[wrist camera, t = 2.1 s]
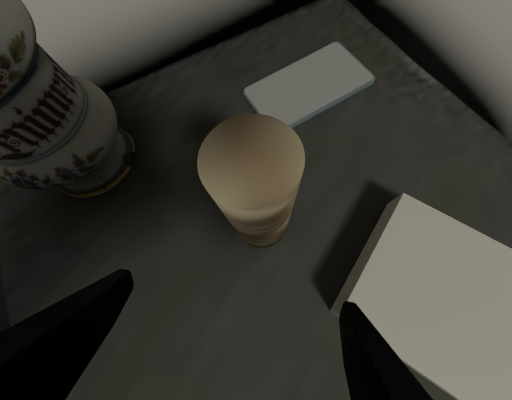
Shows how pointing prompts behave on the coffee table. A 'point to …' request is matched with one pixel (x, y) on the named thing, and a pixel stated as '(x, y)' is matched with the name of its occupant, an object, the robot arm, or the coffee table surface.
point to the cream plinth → (438, 298)
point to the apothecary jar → (53, 119)
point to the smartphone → (309, 85)
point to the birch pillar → (253, 174)
